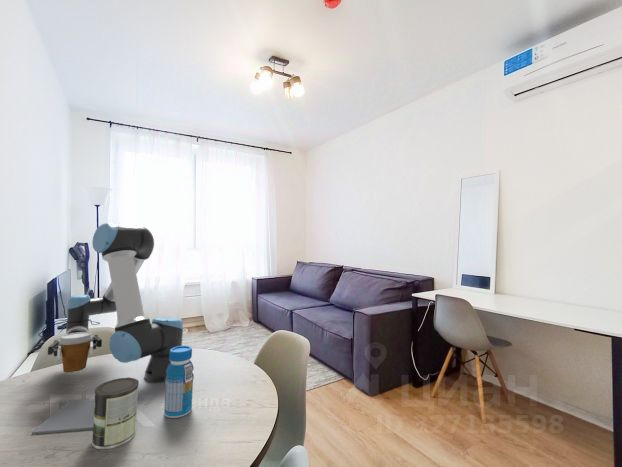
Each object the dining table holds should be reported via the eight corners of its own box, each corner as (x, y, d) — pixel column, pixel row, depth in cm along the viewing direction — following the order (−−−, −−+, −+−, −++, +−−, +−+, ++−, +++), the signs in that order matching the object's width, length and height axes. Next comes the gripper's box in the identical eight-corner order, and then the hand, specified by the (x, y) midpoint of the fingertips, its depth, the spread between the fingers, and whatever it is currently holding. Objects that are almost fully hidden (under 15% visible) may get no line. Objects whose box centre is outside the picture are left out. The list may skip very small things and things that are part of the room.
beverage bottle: (163, 421, 90) (167, 354, 91) (163, 408, 98) (166, 346, 99) (193, 415, 94) (196, 350, 95) (190, 402, 102) (193, 343, 103)
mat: (128, 397, 104) (128, 396, 104) (103, 428, 86) (103, 426, 86) (70, 401, 101) (70, 400, 101) (31, 434, 83) (31, 432, 83)
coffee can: (82, 450, 77) (85, 394, 78) (106, 427, 87) (109, 377, 88) (124, 449, 78) (127, 393, 79) (142, 426, 88) (145, 377, 89)
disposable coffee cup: (97, 366, 110) (99, 332, 110) (69, 376, 101) (71, 340, 101) (79, 362, 113) (81, 330, 113) (50, 372, 104) (52, 337, 104)
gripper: (107, 342, 128) (111, 357, 109) (41, 351, 115) (33, 370, 97) (108, 324, 128) (112, 336, 110) (42, 332, 115) (35, 347, 97)
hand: (75, 352), depth 103 cm, fingers closed on disposable coffee cup, 8 cm apart
